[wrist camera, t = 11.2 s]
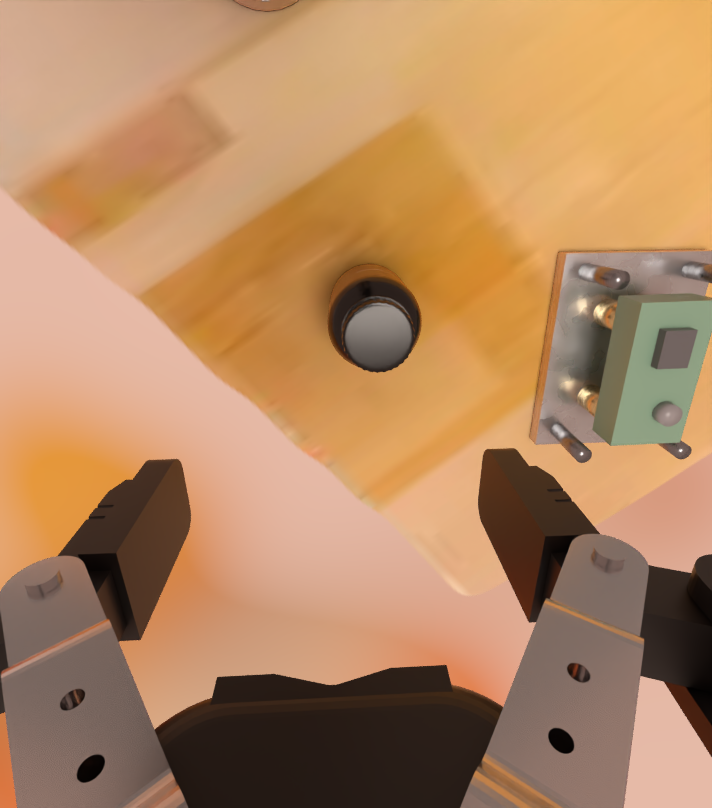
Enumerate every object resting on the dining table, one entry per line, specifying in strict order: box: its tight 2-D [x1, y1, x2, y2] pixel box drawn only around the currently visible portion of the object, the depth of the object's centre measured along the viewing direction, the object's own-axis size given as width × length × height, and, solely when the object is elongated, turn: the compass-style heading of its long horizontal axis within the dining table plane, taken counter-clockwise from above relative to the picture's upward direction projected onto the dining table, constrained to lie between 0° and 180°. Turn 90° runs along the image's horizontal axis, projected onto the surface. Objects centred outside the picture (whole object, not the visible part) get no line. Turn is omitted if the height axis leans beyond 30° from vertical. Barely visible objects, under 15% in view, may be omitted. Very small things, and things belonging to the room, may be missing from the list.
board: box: [592, 293, 712, 446], centre depth 37 cm, size 12×6×4 cm, turn 2°
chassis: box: [530, 249, 712, 463], centre depth 40 cm, size 18×13×6 cm
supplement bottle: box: [328, 264, 422, 373], centre depth 35 cm, size 7×7×12 cm
